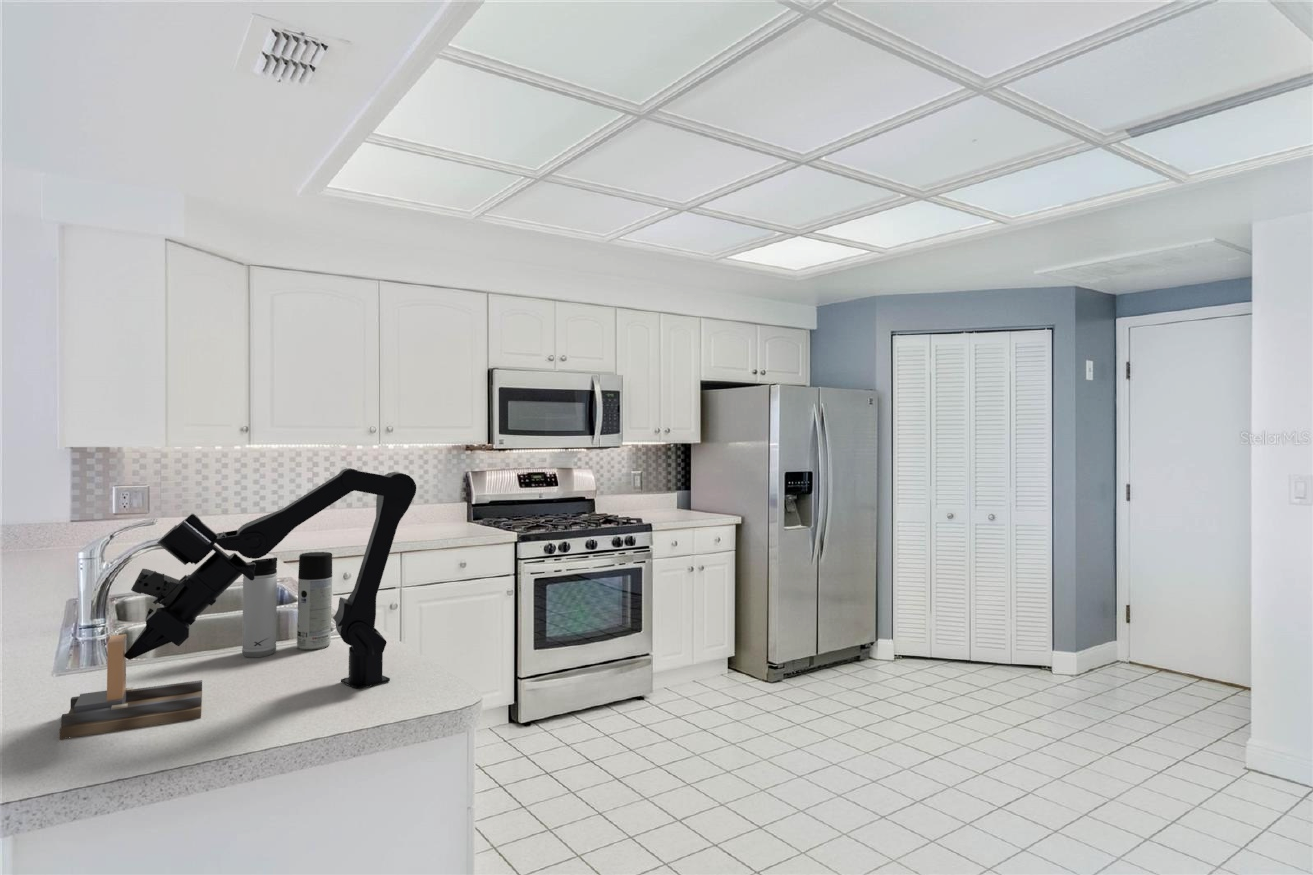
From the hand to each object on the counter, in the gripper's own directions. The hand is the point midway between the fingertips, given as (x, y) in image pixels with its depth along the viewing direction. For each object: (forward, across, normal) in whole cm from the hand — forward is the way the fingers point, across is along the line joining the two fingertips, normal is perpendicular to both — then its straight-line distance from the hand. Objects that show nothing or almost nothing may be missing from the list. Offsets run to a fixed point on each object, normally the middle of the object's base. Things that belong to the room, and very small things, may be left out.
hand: (126, 657), depth 121 cm
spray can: (-15, -30, +29) cm, 44 cm away
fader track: (+6, 0, +8) cm, 10 cm away
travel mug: (-8, -29, +21) cm, 37 cm away
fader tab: (+8, 0, +3) cm, 8 cm away
